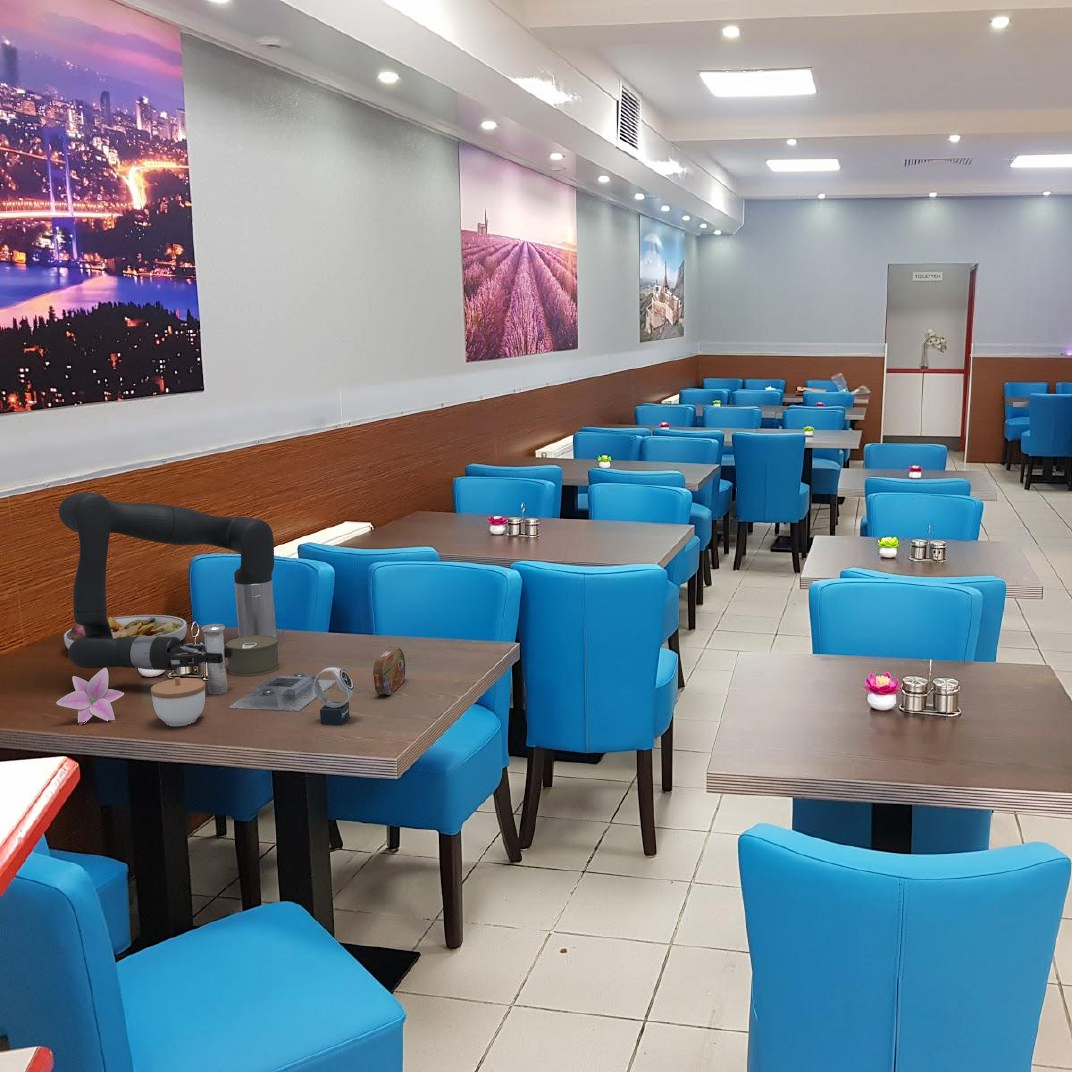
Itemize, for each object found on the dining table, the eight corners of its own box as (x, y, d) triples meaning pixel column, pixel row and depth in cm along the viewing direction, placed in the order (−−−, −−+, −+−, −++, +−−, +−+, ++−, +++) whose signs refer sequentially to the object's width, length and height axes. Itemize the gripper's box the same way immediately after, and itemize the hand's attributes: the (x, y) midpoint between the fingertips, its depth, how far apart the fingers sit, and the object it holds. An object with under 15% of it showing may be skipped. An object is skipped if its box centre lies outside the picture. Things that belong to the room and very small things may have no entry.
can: (284, 662, 285) (283, 634, 284) (272, 676, 273) (271, 647, 272) (235, 663, 285) (233, 635, 284) (221, 677, 273) (219, 648, 272)
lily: (50, 729, 242) (52, 696, 237) (75, 692, 252) (77, 659, 247) (107, 745, 243) (110, 712, 238) (130, 707, 253) (133, 675, 248)
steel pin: (213, 688, 265) (208, 623, 262) (233, 689, 264) (228, 624, 261) (202, 694, 260) (197, 629, 257) (223, 695, 259) (218, 629, 256)
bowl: (161, 626, 324) (159, 599, 323) (207, 647, 302) (204, 617, 300) (49, 647, 306) (46, 618, 304) (89, 670, 283) (86, 639, 282)
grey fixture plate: (271, 679, 270) (270, 665, 269) (336, 682, 267) (335, 667, 266) (229, 708, 250) (228, 692, 249) (299, 711, 246) (298, 695, 246)
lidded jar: (175, 733, 235) (171, 688, 233) (143, 724, 241) (139, 680, 239) (218, 718, 243) (215, 675, 241) (186, 710, 249) (183, 667, 248)
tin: (386, 700, 253) (384, 662, 251) (372, 699, 253) (370, 661, 252) (407, 679, 267) (405, 644, 266) (394, 679, 268) (392, 643, 266)
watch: (350, 725, 237) (347, 672, 235) (312, 724, 238) (309, 672, 236) (358, 716, 242) (355, 664, 240) (321, 715, 243) (318, 664, 241)
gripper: (138, 645, 256) (210, 647, 252) (171, 628, 270) (240, 630, 266) (141, 678, 257) (213, 681, 253) (174, 660, 271) (242, 662, 267)
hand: (226, 655), depth 260 cm, fingers closed on steel pin, 4 cm apart
